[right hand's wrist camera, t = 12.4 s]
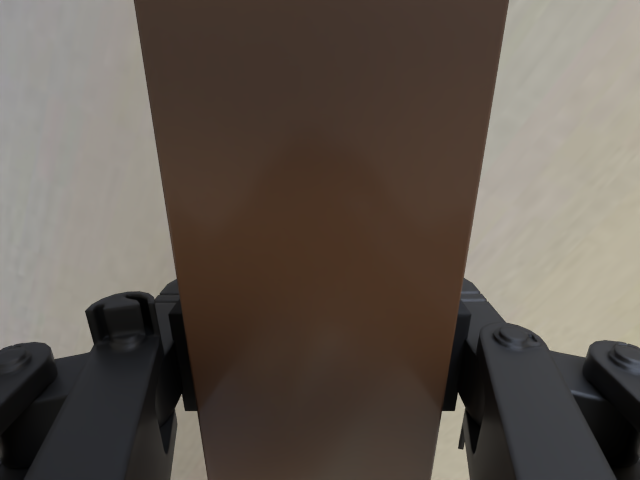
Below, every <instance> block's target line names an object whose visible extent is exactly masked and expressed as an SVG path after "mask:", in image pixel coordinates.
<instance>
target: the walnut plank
mask: <svg viewBox="0 0 640 480" xmlns="http://www.w3.org/2000/svg"><path fill="white" fill-rule="evenodd" d="M508 3H509V0H134V4H135V10H136V17H137V23H138V30H139V36H140V43H141V49H142V56H143V62H144V69H145V75H146V82H147V88H148V95H149V101H150V108H151V114H152V121H153V127H154V133H155V140H156V146H157V153H158V159H159V166H160V172H161V179H162V185H163V192H164V198H165V205H166V211H167V218H168V224H169V231H170V237H171V244H172V250H173V257H174V263H175V270H176V276H177V283H178V289H179V296H180V302H181V308H182V315H183V321H184V328H185V334H186V341H187V347H188V354H189V360H190V367H191V373H192V380H193V386H194V393H195V399H196V406H197V412H198V419H199V425H200V432H201V438H202V445H203V451H204V458H205V464H206V471H207V477H208V480H431V475H432V469H433V462H434V456H435V450H436V444H437V438H438V432H439V426H440V420H441V413H442V407H443V401H444V395H445V389H446V383H447V377H448V371H449V364H450V358H451V352H452V346H453V340H454V334H455V328H456V322H457V315H458V309H459V303H460V297H461V291H462V285H463V279H464V273H465V266H466V260H467V254H468V248H469V242H470V236H471V230H472V224H473V217H474V211H475V205H476V199H477V193H478V187H479V181H480V175H481V168H482V162H483V156H484V150H485V144H486V138H487V132H488V126H489V119H490V113H491V107H492V101H493V95H494V89H495V83H496V77H497V70H498V64H499V58H500V52H501V46H502V40H503V34H504V28H505V21H506V15H507V9H508Z"/></svg>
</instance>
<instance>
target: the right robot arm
mask: <svg viewBox="0 0 640 480" xmlns="http://www.w3.org/2000/svg"><path fill="white" fill-rule="evenodd" d="M85 313H86V316H87V320H88V324H89V328H90V331H91V335H92V339H93V342H94V346H93V348H92V350H91V351H90V352H88V353H84V354H80V355H74V356H69V357H64V358H59V359H54V357H53V353H52V350H51V347H49V346H48V345H47V344H45V343H38V342H31V343H20V344H16V345H14V346H9V347H5V348H3V349H2V350H0V480H170V477H171V469H172V461H173V454H174V446H175V439H176V431H177V418H176V413H175V407H176V405H177V403H178V400H179V398H180V396H181V394H182V396H183V402H184V408H185V411H197V406H196V399H195V393H194V386H193V380H192V373H191V367H190V360H189V354H188V347H187V341H186V334H185V328H184V321H183V315H182V308H181V302H180V296H179V289H178V283H177V279H176V280H174V281H172V282H171V283H169V284H167V285H166V287H165V288H164V289H163V290H162V291H161V293H160V295H158V296H157V297H156V299H155V300H154V297H153V296H152V295H150V294H149V293H145V292H140V291H139V292H124V293H119V294H114V295H111V296H109V297H106V298H103V299H101V300H99V301H97V302H95V303H94V304H92V305H91V306H90V307H89V308H88V309H87V310H86V311H85ZM458 393H459V395H460V397H461V399H462V401H463V403H464V405H465V413H464V418H463V423H462V429H461V434H460V439H459V446H458V449H463V448H464V443H465V445H466V453H467V461H468V468H469V476H470V480H640V348H638V347H637V346H634V345H631V344H626V343H624V342H616V341H607V340H604V341H596V342H594V343H593V344H591V345H590V346H589V349H588V352H587V356H586V358H585V357H579V356H574V355H569V354H564V353H559V352H554V351H550V350H549V349H548V347H547V345H546V343H545V342H544V341H543V340H542V339H541V338H540V337H539V336H538V335H536V334H535V333H533V332H532V331H530V330H528V329H526V328H523V327H521V326H518V325H514V324H510V323H506V322H505V321H504V320H503V318H502V317H501V316H500V315H499V314H498V313H497V311H496V310H495V309H494V308H493V307H492V305H491V304H490V303H489V302H487V300H486V298H485V297H484V296H483V295H482V294H480V291H479V290H478V289H477V288H476V287H475V285H474V284H473V283H472V282H470V281H468V280H466V279H465V278H464V279H463V285H462V291H461V297H460V303H459V309H458V315H457V322H456V328H455V334H454V340H453V346H452V352H451V358H450V364H449V371H448V377H447V383H446V389H445V395H444V401H443V407H442V411H455V406H456V401H457V395H458Z"/></svg>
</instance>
